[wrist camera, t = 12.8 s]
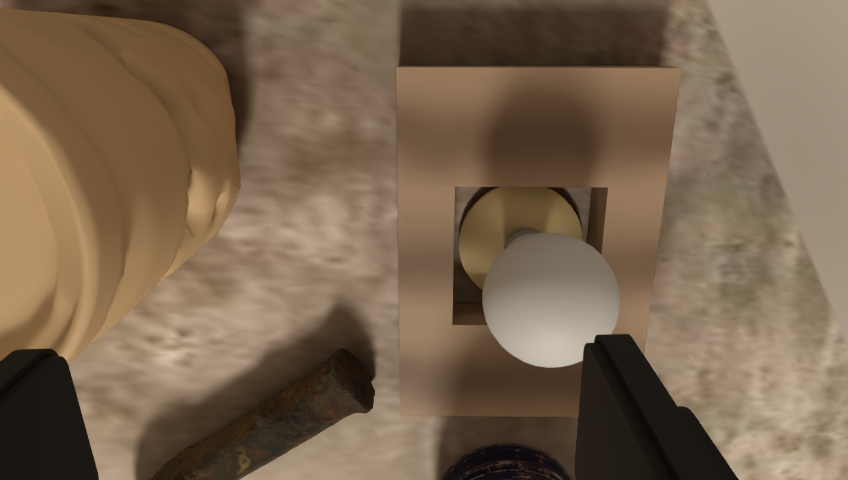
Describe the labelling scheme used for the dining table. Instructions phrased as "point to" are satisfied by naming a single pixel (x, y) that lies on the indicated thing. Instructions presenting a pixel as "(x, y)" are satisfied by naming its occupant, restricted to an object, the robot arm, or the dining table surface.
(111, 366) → the dining table surface
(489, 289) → the lightbulb
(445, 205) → the holder
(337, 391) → the hand tool
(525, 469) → the navy ridged cylinder
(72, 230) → the container
